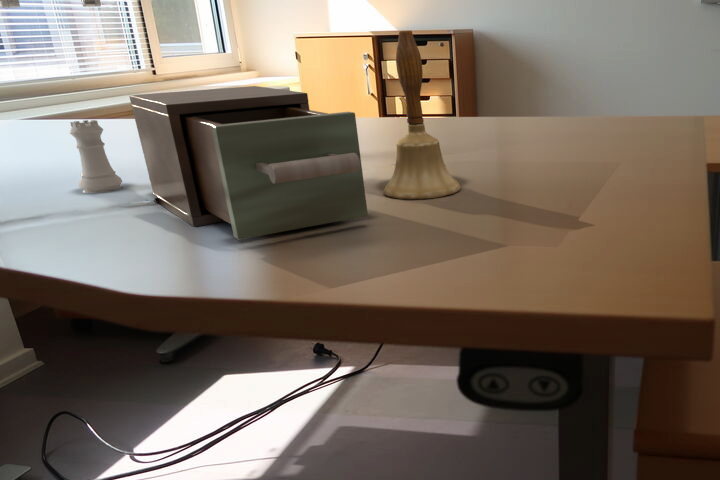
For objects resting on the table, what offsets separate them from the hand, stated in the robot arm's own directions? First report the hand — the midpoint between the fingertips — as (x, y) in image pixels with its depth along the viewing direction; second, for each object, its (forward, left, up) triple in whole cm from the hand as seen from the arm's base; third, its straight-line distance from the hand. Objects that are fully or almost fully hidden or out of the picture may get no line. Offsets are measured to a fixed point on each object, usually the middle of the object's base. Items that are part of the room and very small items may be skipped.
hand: (52, 7), depth 75 cm
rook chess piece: (0, 0, -19) cm, 19 cm away
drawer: (+10, -29, -18) cm, 36 cm away
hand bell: (+27, -24, -19) cm, 41 cm away
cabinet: (+10, -15, -19) cm, 26 cm away
